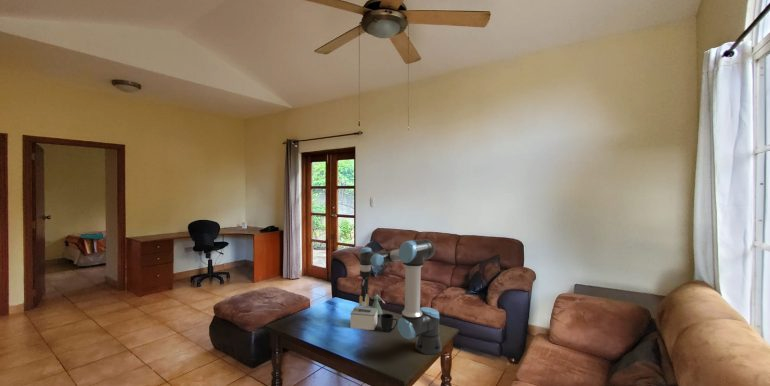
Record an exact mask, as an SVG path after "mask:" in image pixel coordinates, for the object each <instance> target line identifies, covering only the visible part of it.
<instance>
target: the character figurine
mask: <svg viewBox="0 0 770 386" xmlns="http://www.w3.org/2000/svg"><path fill="white" fill-rule="evenodd" d="M370 300H374V301H373V302H372V306H371V307H370V308H377V309H378V312H377V318H378V317H380V315H382V314H384V313H383V310H382V307H381V305H380V302H379V300H380V301H381V302H382V304H384V305H386V302H385V301H384V300H383V298H382V297H380V295H379V292H378V291H375V292H374V295H373V296H372V297H369V301H370Z"/></svg>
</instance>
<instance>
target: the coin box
mask: <svg viewBox="0 0 770 386" xmlns="http://www.w3.org/2000/svg"><path fill="white" fill-rule="evenodd" d="M377 312H378V309H377V308H371V307H366V306H355V307H354V308H353V309H352V311H351V312H350V329H358V330H366V331H367V330H368V331H375V330H376V329H375V328H376V326H377V324H378V317H377Z"/></svg>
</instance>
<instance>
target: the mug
mask: <svg viewBox="0 0 770 386" xmlns="http://www.w3.org/2000/svg"><path fill="white" fill-rule="evenodd" d="M398 320H399V319H397V318H394V315H393V314H391V313H382V314H380V324H381V329H382V332H384V333H389V332H392V331H394V330H395V328H396V327H397V322H398ZM394 321H396V323H395V325H393V324H394Z"/></svg>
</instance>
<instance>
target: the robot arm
mask: <svg viewBox="0 0 770 386" xmlns="http://www.w3.org/2000/svg"><path fill="white" fill-rule="evenodd" d="M359 252H360V253H359V254H360V256H359V265H358V266H359V276H360V278H362V279H361V283H360V285H361V293H360V296H362V306H361V307H367V306H366V296H368V295H369V282H370V277H371V276H372V275H371V274H372V266H375V267H381V266H382V265H383V264H388V263H389V264H391V263H395V262H400V261H401V262H402V265H403V266H404V269H405V274H404V276H405V277H404V278H405V280H404V281H405V283H404V309H403V310H402V311H401V317H400V318H399V319H398V322H397V325H396V327H397V329H398V331H399V333H400V335H401V337H402V338H404V339H407V340H411V339H415V338H417V339H416V341H415V349H416V351H418V352H419V353H421V354H425V355H431V356H432V355H438V354H440V353H441V352H442V350H443V349H442V343H441V339H440V312H439V311H438V310H437V309H435V308H432V307H426V306H425V307H424V306H423V307H421V282H422V281H421V278H422V277H421V275H422V274H421V272H422V271H421V270H422V269H421V268H422V267H424V262H425V260H429V259H430V258H433V256H434V255H435V252H436V247H435V245H434V243H433V242H432V241H431V240H430V239H425V238H423V239H413V240H412V239H411V240H407V241H403V242H402V244H401V245H400V246H399V248H397V249H393V250H389V251H382V252H372V248H371V247H367V246H365V247H364V246H363V247H361V248H360V251H359Z"/></svg>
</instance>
